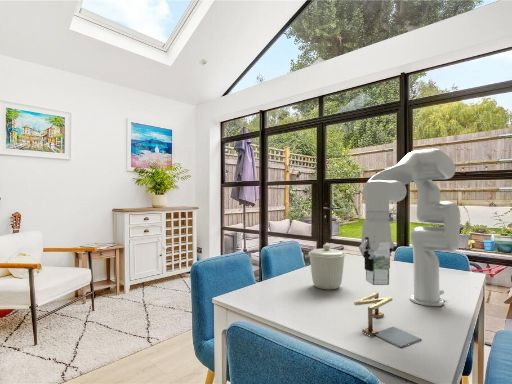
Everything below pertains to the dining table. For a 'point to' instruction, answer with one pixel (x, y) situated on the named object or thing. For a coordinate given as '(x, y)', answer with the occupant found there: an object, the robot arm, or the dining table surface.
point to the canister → (327, 267)
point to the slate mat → (397, 336)
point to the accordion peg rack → (371, 313)
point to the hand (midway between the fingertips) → (377, 268)
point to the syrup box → (380, 266)
